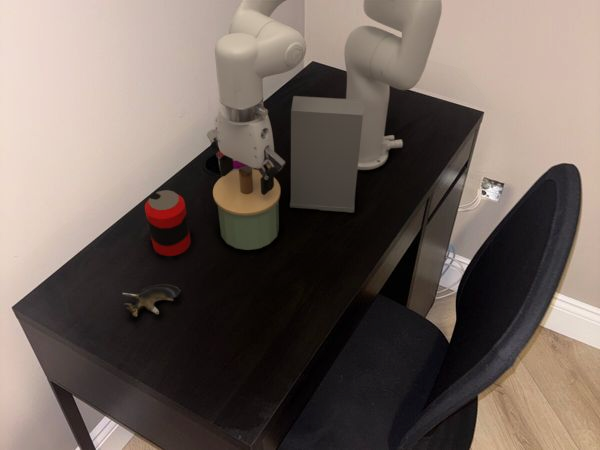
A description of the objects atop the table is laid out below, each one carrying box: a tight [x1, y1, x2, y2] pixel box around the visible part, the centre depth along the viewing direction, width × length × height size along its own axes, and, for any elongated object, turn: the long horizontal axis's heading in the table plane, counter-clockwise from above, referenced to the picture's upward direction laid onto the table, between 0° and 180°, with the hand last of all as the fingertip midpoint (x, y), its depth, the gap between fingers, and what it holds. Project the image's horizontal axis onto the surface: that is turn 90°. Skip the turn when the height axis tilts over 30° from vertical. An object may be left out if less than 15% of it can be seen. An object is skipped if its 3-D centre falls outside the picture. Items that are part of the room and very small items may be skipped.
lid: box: [212, 166, 282, 216], centre depth 117 cm, size 13×13×6 cm
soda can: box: [144, 189, 192, 257], centre depth 119 cm, size 8×8×12 cm
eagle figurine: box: [122, 283, 182, 318], centre depth 109 cm, size 8×7×9 cm
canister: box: [217, 200, 280, 251], centre depth 122 cm, size 12×12×10 cm
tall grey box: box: [289, 95, 363, 213], centre depth 124 cm, size 14×6×25 cm, turn 85°
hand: (247, 181), depth 117 cm, fingers open, 9 cm apart
